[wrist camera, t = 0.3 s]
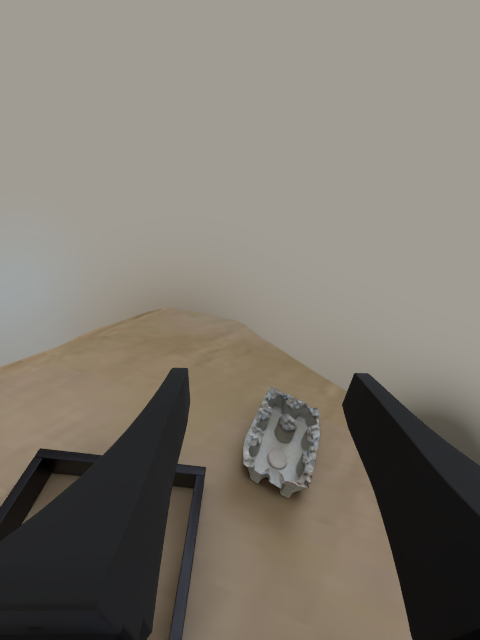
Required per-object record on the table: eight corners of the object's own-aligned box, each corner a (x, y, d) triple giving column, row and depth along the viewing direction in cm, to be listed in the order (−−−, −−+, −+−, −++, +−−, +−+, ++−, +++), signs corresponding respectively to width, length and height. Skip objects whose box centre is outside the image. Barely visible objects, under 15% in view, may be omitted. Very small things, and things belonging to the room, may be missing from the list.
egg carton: (299, 509, 26) (311, 492, 24) (232, 472, 28) (237, 453, 26) (318, 424, 35) (329, 405, 32) (265, 400, 36) (271, 380, 34)
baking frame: (165, 751, 15) (164, 759, 14) (-119, 734, 15) (-158, 741, 13) (204, 480, 27) (206, 466, 25) (48, 463, 26) (39, 448, 25)
